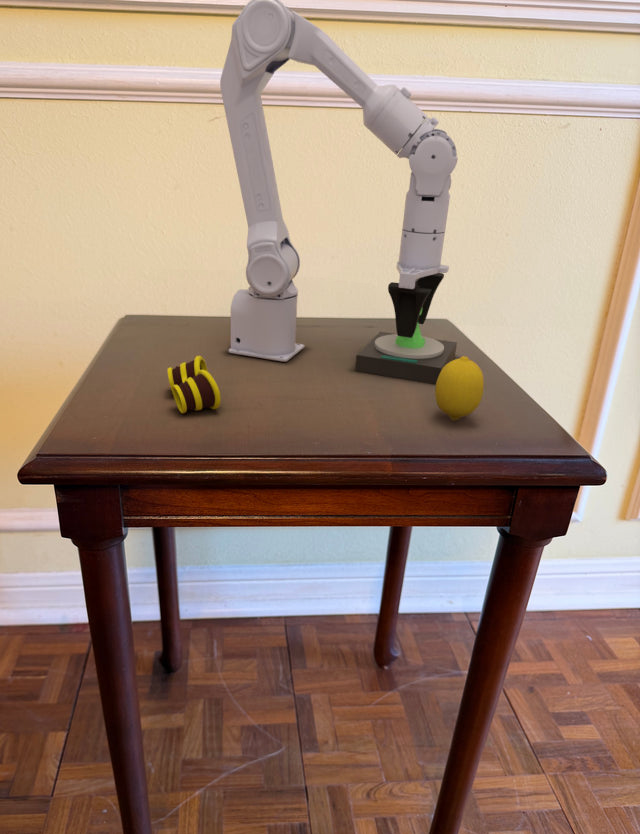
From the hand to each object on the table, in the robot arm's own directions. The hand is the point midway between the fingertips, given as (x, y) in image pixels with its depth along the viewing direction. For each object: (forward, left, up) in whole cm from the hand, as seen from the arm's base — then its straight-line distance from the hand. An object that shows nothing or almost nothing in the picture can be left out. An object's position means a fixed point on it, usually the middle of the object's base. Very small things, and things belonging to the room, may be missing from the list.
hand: (411, 329), depth 99 cm
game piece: (0, 0, -2) cm, 2 cm away
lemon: (+10, -18, -5) cm, 21 cm away
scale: (0, -1, -5) cm, 5 cm away
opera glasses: (-21, -27, -5) cm, 35 cm away
